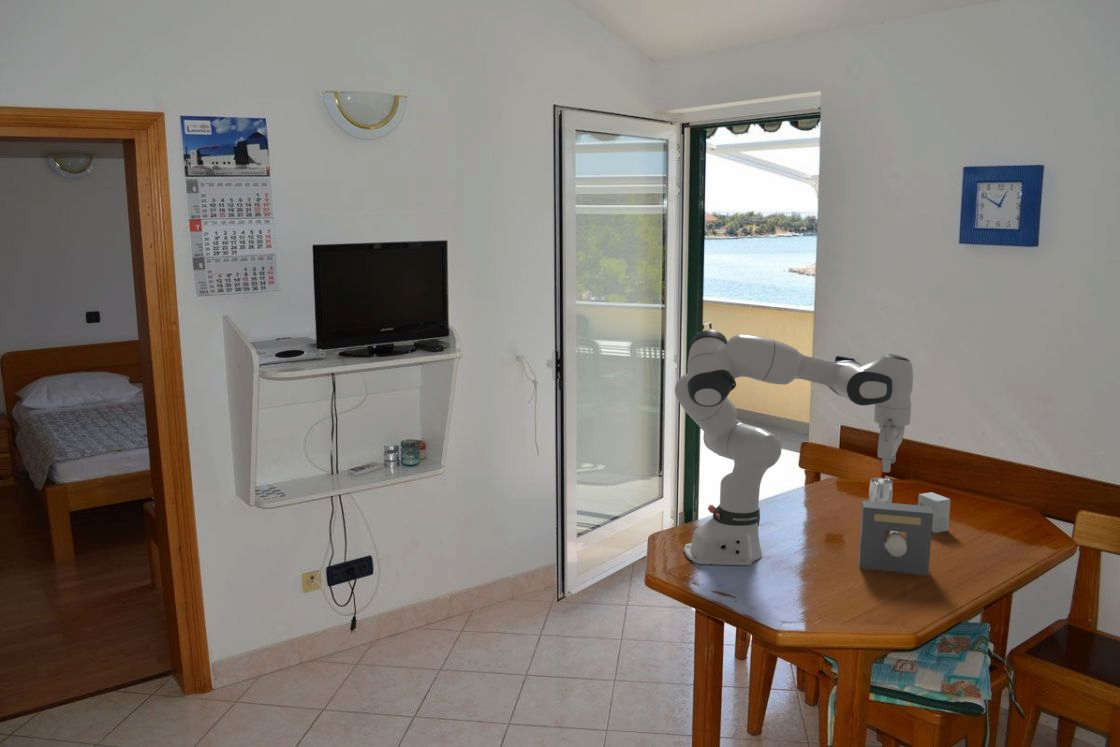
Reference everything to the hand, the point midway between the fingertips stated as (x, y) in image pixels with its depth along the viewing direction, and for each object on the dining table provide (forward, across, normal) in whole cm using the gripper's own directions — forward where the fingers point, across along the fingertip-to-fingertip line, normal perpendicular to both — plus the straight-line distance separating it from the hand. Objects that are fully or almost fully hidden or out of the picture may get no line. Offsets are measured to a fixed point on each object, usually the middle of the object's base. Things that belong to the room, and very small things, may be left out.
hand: (888, 467), depth 235 cm
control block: (+32, +12, -2) cm, 35 cm away
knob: (+26, +10, -2) cm, 28 cm away
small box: (+33, +51, -8) cm, 61 cm away
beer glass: (+32, +45, +7) cm, 56 cm away
